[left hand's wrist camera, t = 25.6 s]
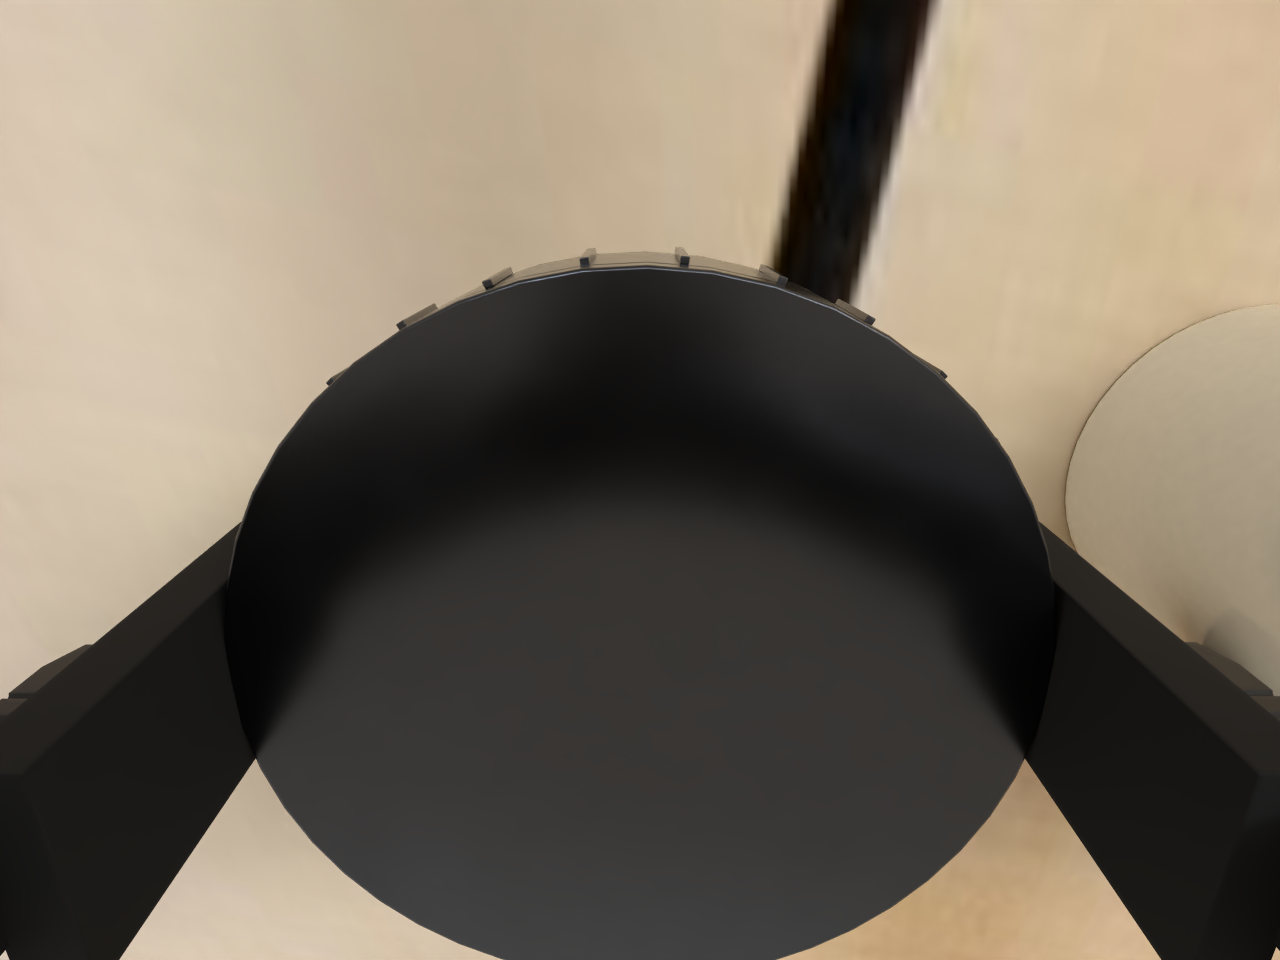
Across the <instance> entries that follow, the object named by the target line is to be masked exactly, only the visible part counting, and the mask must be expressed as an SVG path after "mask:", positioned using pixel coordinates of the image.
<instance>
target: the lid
mask: <svg viewBox="0 0 1280 960" xmlns="http://www.w3.org/2000/svg"><path fill="white" fill-rule="evenodd" d="M787 280H788V278H787V277H785V276H783V275H782V274H780V273H778V272H777V271H775V270H773V269H771V268H770V267H768V266H765V265H762V264H761V265H760V268H759V270H757V269H754V268H751V267H746V266H742V265H737V264H733V263H729V262H724V261H720V260H715V259H711V258H706V257H702V256H693V255H688V254H687V252H686V251H685V250H684V248H680V247H676V248H675V254H669V253H657V252H629V253H610V254H596V249H595V248H591V249H587V251H586V252H585V253H584V254H583V255H582V256H581V257H577V258H571V259H566V260H561V261H556V262H550V263H545V264H540V265H537V266H534V267H531V268H528V269H525V270H522V271H519V272H516V273H513V272H512V269H511V267H509V268H506V269H504V270H502V271H500V272H498V273H497V274H495V275H493V276H491V277H490V278H488V279H486V280H484V281H483V282H482V283H483V285H482V286H480V287H478V288H476V289H474V290H472V291H470V292H468V293H466V294H464V295H462V296H460V297H458V298H456V299H454V300H452V301H450V302H448V303H446V304H444V305H443V306H441V307H439V308H437V306H436V305H435V304H432V305H430V306H428V307H427V308H425V309H423V310H421V311H419V312H417V313H415V314H414V315H412V316H410V317H408V318H406V319H404V320H403V321H401V322H399V323H398V324H396V326H397V327H398V328H399V330H400V331H398V332H397V333H395V334H394V335H392V336H391V337H390V338H388V339H387V340H385V341H384V342H382V343H381V344H380V345H378V346H377V347H375V348H374V349H372V350H371V351H370V352H368V353H367V354H365V355H364V356H362V357H361V358H360V359H358V360H357V361H355V362H354V363H353V364H352V365H351V366H350V367H348V368H347V369H345V370H343V371H342V372H340V373H338V374H337V375H335V376H333V377H332V378H330V379H329V380H328V382H327V383H326V384H327V385H328V387H327V388H326V389H325V390H324V391H323V392H322V393H321V394H320V395H319V396H318V397H317V398H316V399H315V400H314V401H313V402H312V403H311V404H310V405H309V406H308V408H307V409H306V410H305V412H304V413H303V414H302V416H301V417H300V418H299V419H298V421H297V422H296V423H295V425H294V426H293V427H292V428H291V430H290V431H289V432H288V434H287V435H286V436H285V437H284V439H283V440H282V441H281V443H280V444H279V445H278V447H277V448H276V450H275V452H274V454H273V456H272V458H271V459H270V461H269V463H268V465H267V467H266V468H265V470H264V472H263V474H262V476H261V477H260V479H259V481H258V483H257V485H256V487H255V488H254V490H253V492H252V495H251V497H250V500H249V503H248V506H247V509H246V511H245V514H244V517H243V520H242V522H241V525H240V528H239V531H238V533H237V536H236V539H235V543H234V549H233V554H232V559H231V565H230V570H229V575H228V580H227V586H226V600H225V634H224V638H225V646H226V654H227V661H228V666H229V672H230V677H231V682H232V686H233V691H234V695H235V699H236V703H237V708H238V712H239V716H240V720H241V724H242V728H243V730H244V732H245V734H246V737H247V739H248V741H249V744H250V746H251V748H252V750H253V753H254V755H255V757H256V759H257V762H258V764H259V766H260V768H261V770H262V772H263V774H264V775H265V777H266V778H267V780H268V782H269V783H270V785H271V787H272V788H273V790H274V792H275V793H276V795H277V796H278V798H279V800H280V801H281V803H282V805H283V806H284V808H285V809H286V810H287V811H288V813H289V814H290V815H291V816H292V818H293V819H294V820H295V821H296V823H297V824H298V825H299V826H300V828H301V829H302V830H303V831H304V833H305V834H306V835H307V836H308V838H309V839H310V840H311V841H312V842H313V843H314V844H315V845H316V846H317V847H318V848H319V849H320V850H321V851H322V852H323V853H324V854H325V855H326V856H327V857H328V858H329V859H330V860H331V861H332V862H333V863H334V864H335V865H336V866H337V867H338V868H339V869H340V870H341V871H342V872H343V873H344V874H346V875H347V876H348V877H349V878H351V879H352V880H353V881H355V882H356V883H357V884H359V885H360V886H361V887H362V888H364V889H365V890H366V891H368V892H369V893H370V894H372V895H373V896H374V897H375V898H377V899H378V900H379V901H381V902H382V903H384V904H386V905H387V906H389V907H391V908H392V909H394V910H395V911H397V912H399V913H400V914H402V915H404V916H405V917H407V918H409V919H410V920H412V921H413V922H415V923H417V924H418V925H420V926H423V927H425V928H427V929H429V930H431V931H433V932H435V933H437V934H439V935H441V936H444V937H446V938H448V939H450V940H452V941H454V942H456V943H458V944H461V945H464V946H466V947H469V948H472V949H475V950H478V951H480V952H483V953H486V954H489V955H492V956H494V957H497V958H500V959H503V960H777V959H780V958H783V957H786V956H789V955H792V954H795V953H798V952H801V951H804V950H807V949H810V948H813V947H815V946H817V945H820V944H822V943H824V942H826V941H829V940H831V939H833V938H835V937H838V936H840V935H842V934H844V933H847V932H849V931H851V930H853V929H855V928H857V927H858V926H860V925H862V924H864V923H865V922H867V921H869V920H870V919H872V918H874V917H876V916H877V915H879V914H881V913H883V912H884V911H886V910H888V909H890V908H891V907H893V906H894V905H896V904H897V903H898V902H900V901H901V900H902V899H904V898H905V897H906V896H908V895H909V894H911V893H912V892H913V891H915V890H916V889H917V888H919V887H920V886H922V885H923V884H924V883H926V882H927V881H928V880H929V879H930V878H932V877H933V876H934V875H935V874H936V873H937V872H938V871H939V870H940V869H941V868H942V867H944V866H945V865H946V864H947V863H948V862H949V861H950V860H951V859H952V858H953V857H954V856H955V855H957V854H958V853H959V852H960V851H961V850H962V849H963V847H964V846H965V845H966V844H967V843H968V842H969V840H970V839H971V838H972V837H973V836H974V835H975V833H976V832H977V831H978V830H979V829H980V828H981V826H982V825H983V824H984V823H985V822H986V821H987V819H988V818H989V817H990V816H991V814H992V813H993V811H994V810H995V808H996V807H997V805H998V804H999V802H1000V801H1001V799H1002V797H1003V796H1004V794H1005V793H1006V791H1007V790H1008V788H1009V787H1010V785H1011V784H1012V782H1013V781H1014V779H1015V777H1016V775H1017V773H1018V771H1019V769H1020V767H1021V765H1022V763H1023V761H1024V759H1025V756H1026V754H1027V752H1028V750H1029V748H1030V746H1031V744H1032V742H1033V740H1034V738H1035V734H1036V731H1037V728H1038V725H1039V722H1040V719H1041V715H1042V712H1043V708H1044V704H1045V700H1046V696H1047V691H1048V686H1049V681H1050V676H1051V671H1052V666H1053V661H1054V655H1055V648H1056V599H1055V593H1054V586H1053V580H1052V573H1051V566H1050V560H1049V553H1048V549H1047V546H1046V543H1045V540H1044V537H1043V534H1042V530H1041V527H1040V524H1039V521H1038V518H1037V515H1036V512H1035V509H1034V506H1033V503H1032V501H1031V499H1030V497H1029V495H1028V493H1027V491H1026V489H1025V487H1024V485H1023V483H1022V481H1021V479H1020V477H1019V475H1018V473H1017V471H1016V469H1015V467H1014V465H1013V463H1012V461H1011V459H1010V457H1009V456H1008V454H1007V453H1006V451H1005V450H1004V449H1003V447H1002V446H1001V445H1000V442H999V441H998V439H997V438H996V437H995V436H994V435H993V433H992V432H991V431H990V429H989V428H988V427H987V425H986V424H985V422H984V421H983V420H982V418H981V417H980V415H979V414H978V413H977V411H976V410H975V409H974V408H973V407H972V406H971V405H970V404H969V403H968V402H967V401H966V400H965V399H964V398H963V397H962V396H961V395H960V394H959V393H958V392H957V391H956V390H955V389H954V388H953V387H952V386H951V385H950V384H949V383H948V382H947V381H946V380H945V379H946V378H947V375H946V374H945V373H944V372H943V371H942V370H940V369H938V368H937V367H935V366H933V365H931V364H930V363H928V362H926V361H925V360H923V359H921V358H920V357H918V356H916V355H915V354H913V353H912V352H910V351H909V350H908V349H906V348H905V347H904V346H902V345H901V344H900V343H898V342H897V341H896V340H894V339H893V338H892V337H890V336H889V335H887V334H886V333H884V332H882V331H880V330H879V329H877V328H875V327H873V326H872V324H873V323H874V321H875V318H873V317H871V316H870V315H868V314H866V313H864V312H862V311H860V310H859V309H857V308H855V307H853V306H851V305H849V304H847V303H846V302H844V301H842V300H840V299H838V300H837V302H836V303H835V304H833V303H831V302H829V301H827V300H826V299H824V298H822V297H820V296H818V295H816V294H815V293H813V292H811V291H809V290H807V289H805V288H804V287H802V286H799V285H797V284H794V283H791V282H789V281H787Z"/></svg>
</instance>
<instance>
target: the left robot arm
mask: <svg viewBox="0 0 1280 960" xmlns="http://www.w3.org/2000/svg"><path fill="white" fill-rule="evenodd" d="M1039 524H1040V527H1041V530H1042V534H1043V537H1044V540H1045V543H1046V546H1047V549H1048V553H1049V560H1050V566H1051V573H1052V580H1053V586H1054V593H1055V599H1056V648H1055V655H1054V661H1053V666H1052V671H1051V676H1050V681H1049V686H1048V691H1047V696H1046V700H1045V704H1044V708H1043V712H1042V715H1041V719H1040V722H1039V725H1038V728H1037V731H1036V734H1035V738H1034V740H1033V742H1032V744H1031V746H1030V748H1029V750H1028V752H1027V754H1026V756H1025V759H1026V761H1027V762H1028V764H1029V765H1030V767H1031V768H1032V769H1033V771H1034V772H1035V774H1036V775H1037V777H1038V778H1039V780H1040V781H1041V783H1042V784H1043V786H1044V787H1045V789H1046V790H1047V792H1048V793H1049V795H1050V796H1051V798H1052V799H1053V800H1054V802H1055V803H1056V805H1057V806H1058V808H1059V809H1060V811H1061V812H1062V814H1063V815H1064V817H1065V818H1066V820H1067V821H1068V823H1069V824H1070V826H1071V827H1072V828H1073V830H1074V831H1075V833H1076V834H1077V836H1078V837H1079V839H1080V840H1081V842H1082V843H1083V845H1084V846H1085V848H1086V849H1087V851H1088V852H1089V854H1090V855H1091V857H1092V858H1093V859H1094V861H1095V862H1096V864H1097V865H1098V867H1099V868H1100V870H1101V871H1102V873H1103V874H1104V876H1105V877H1106V879H1107V880H1108V882H1109V883H1110V885H1111V886H1112V887H1113V889H1114V890H1115V892H1116V893H1117V895H1118V896H1119V898H1120V899H1121V901H1122V902H1123V904H1124V905H1125V907H1126V908H1127V910H1128V911H1129V913H1130V914H1131V916H1132V917H1133V918H1134V920H1135V921H1136V923H1137V924H1138V926H1139V927H1140V929H1141V930H1142V932H1143V933H1144V935H1145V936H1146V938H1147V939H1148V941H1149V942H1150V944H1151V945H1152V947H1153V948H1154V949H1155V951H1156V952H1157V954H1158V955H1159V957H1160V958H1161V960H1271V959H1272V956H1273V954H1274V951H1275V949H1276V947H1277V948H1278V949H1279V951H1280V696H1274V695H1273V690H1271V689H1270V688H1269V687H1268V686H1266V685H1265V684H1264V683H1263V682H1261V681H1260V680H1259V679H1257V678H1256V677H1255V676H1254V675H1252V674H1251V673H1250V672H1249V671H1247V670H1246V669H1245V668H1244V667H1242V666H1241V665H1240V664H1238V663H1236V662H1234V661H1232V660H1230V659H1228V658H1226V657H1224V656H1222V655H1220V654H1218V653H1216V652H1214V651H1212V650H1210V649H1208V648H1206V647H1204V646H1203V645H1201V644H1199V643H1197V642H1184V641H1183V640H1181V639H1180V638H1179V637H1178V636H1177V635H1175V634H1174V633H1173V632H1172V631H1170V630H1169V629H1168V628H1167V627H1166V626H1164V625H1163V624H1162V623H1161V622H1160V621H1158V620H1157V619H1156V618H1155V617H1154V616H1152V615H1151V614H1150V613H1149V612H1148V611H1146V610H1145V609H1144V608H1143V607H1142V606H1140V605H1139V604H1138V603H1137V602H1135V601H1134V600H1133V599H1132V598H1131V597H1129V596H1128V595H1127V594H1126V593H1125V592H1123V591H1122V590H1121V589H1120V588H1119V587H1117V586H1116V585H1115V584H1114V583H1113V582H1111V581H1110V580H1109V579H1108V578H1107V577H1105V576H1104V575H1103V574H1102V573H1100V572H1099V571H1098V570H1097V569H1096V568H1094V567H1093V566H1092V565H1091V564H1090V563H1088V562H1087V561H1086V560H1085V559H1084V558H1082V557H1081V556H1080V555H1079V554H1078V553H1076V552H1075V551H1074V550H1073V549H1072V548H1070V547H1069V546H1068V545H1067V544H1065V543H1064V542H1063V541H1062V540H1061V539H1059V538H1058V537H1057V536H1056V535H1055V534H1053V533H1052V532H1051V531H1050V530H1049V529H1047V528H1046V527H1045V526H1044V525H1043V524H1041V523H1040V522H1039ZM240 525H241V522H240V523H239V524H238V525H237V526H236V527H234V528H233V529H232V530H231V531H230V532H228V533H227V534H226V535H225V536H224V537H222V538H221V539H220V540H219V541H217V542H216V543H215V544H214V545H213V546H211V547H210V548H209V549H208V550H207V551H205V552H204V553H203V554H202V555H201V556H199V557H198V558H197V559H196V560H195V561H193V562H192V563H191V564H190V565H189V566H187V567H186V568H185V569H184V570H182V571H181V572H180V573H179V574H178V575H176V576H175V577H174V578H173V579H172V580H170V581H169V582H168V583H167V584H166V585H164V586H163V587H162V588H161V589H160V590H158V591H157V592H156V593H155V594H154V595H152V596H151V597H150V598H149V599H147V600H146V601H145V602H144V603H143V604H141V605H140V606H139V607H138V608H137V609H135V610H134V611H133V612H132V613H131V614H129V615H128V616H127V617H126V618H125V619H123V620H122V621H121V622H120V623H119V624H117V625H116V626H115V627H114V628H112V629H111V630H110V631H109V632H108V633H106V634H105V635H104V636H103V637H102V638H100V639H99V640H98V641H97V642H96V643H94V644H93V645H84V646H82V647H80V648H78V649H76V650H74V651H72V652H70V653H68V654H66V655H65V656H63V657H61V658H59V659H57V660H55V661H53V662H51V663H49V664H47V665H45V666H43V667H41V668H40V669H39V670H38V671H36V672H35V673H34V674H33V675H31V676H30V677H29V678H28V679H26V680H25V681H24V682H23V683H21V684H20V685H19V686H18V687H16V688H15V689H14V690H13V691H11V692H10V693H9V697H8V699H1V700H0V956H1V954H2V953H3V952H4V951H5V950H6V952H7V954H8V957H9V960H119V959H120V958H121V956H122V955H123V953H124V952H125V950H126V949H127V947H128V946H129V944H130V943H131V941H132V940H133V938H134V937H135V935H136V934H137V933H138V931H139V930H140V928H141V927H142V925H143V924H144V922H145V921H146V919H147V918H148V916H149V915H150V913H151V912H152V910H153V909H154V907H155V906H156V905H157V903H158V902H159V900H160V899H161V897H162V896H163V894H164V893H165V891H166V890H167V888H168V887H169V885H170V884H171V882H172V881H173V879H174V878H175V876H176V875H177V874H178V872H179V871H180V869H181V868H182V866H183V865H184V863H185V862H186V860H187V859H188V857H189V856H190V854H191V853H192V851H193V850H194V848H195V847H196V845H197V844H198V843H199V841H200V840H201V838H202V837H203V835H204V834H205V832H206V831H207V829H208V828H209V826H210V825H211V823H212V822H213V820H214V819H215V817H216V816H217V815H218V813H219V812H220V810H221V809H222V807H223V806H224V804H225V803H226V801H227V800H228V798H229V797H230V795H231V794H232V792H233V791H234V789H235V788H236V786H237V785H238V784H239V782H240V781H241V779H242V778H243V776H244V775H245V773H246V772H247V770H248V769H249V767H250V766H251V764H252V763H253V761H254V760H255V758H256V757H255V755H254V753H253V750H252V748H251V746H250V744H249V741H248V739H247V737H246V734H245V732H244V730H243V728H242V724H241V720H240V716H239V712H238V708H237V703H236V699H235V695H234V691H233V686H232V682H231V677H230V672H229V666H228V661H227V654H226V646H225V638H224V634H225V600H226V586H227V580H228V575H229V570H230V565H231V559H232V554H233V549H234V543H235V539H236V536H237V533H238V531H239V528H240Z"/></svg>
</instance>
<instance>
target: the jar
mask: <svg viewBox="0 0 1280 960" xmlns="http://www.w3.org/2000/svg"><path fill="white" fill-rule="evenodd" d="M1065 504H1066V517H1067V523H1068V527H1069V531H1070V535H1071V538H1072V541H1073V543H1074V545H1075V548H1076V550H1077V553H1078V554H1079V555H1080V556H1081V557H1082V558H1084V559H1085V560H1086V561H1087V562H1088V563H1090V564H1091V565H1092V566H1093V567H1094V568H1096V569H1097V570H1098V571H1099V572H1100V573H1102V574H1103V575H1104V576H1105V577H1107V578H1108V579H1109V580H1110V581H1111V582H1113V583H1114V584H1115V585H1116V586H1117V587H1119V588H1120V589H1121V590H1122V591H1123V592H1125V593H1126V594H1127V595H1128V596H1129V597H1131V598H1132V599H1133V600H1134V601H1135V602H1137V603H1138V604H1139V605H1140V606H1142V607H1143V608H1144V609H1145V610H1146V611H1148V612H1149V613H1150V614H1151V615H1152V616H1154V617H1155V618H1156V619H1157V620H1158V621H1160V622H1161V623H1162V624H1163V625H1164V626H1166V627H1167V628H1168V629H1169V630H1170V631H1172V632H1173V633H1174V634H1175V635H1177V636H1178V637H1179V638H1180V639H1181V640H1183V641H1184V642H1197V643H1199V644H1201V645H1203V646H1204V647H1206V648H1208V649H1210V650H1212V651H1214V652H1216V653H1218V654H1220V655H1222V656H1224V657H1226V658H1228V659H1230V660H1232V661H1234V662H1236V663H1238V664H1240V665H1241V666H1242V667H1244V668H1245V669H1246V670H1247V671H1249V672H1250V673H1251V674H1252V675H1254V676H1255V677H1256V678H1257V679H1259V680H1260V681H1261V682H1263V683H1264V684H1265V685H1266V686H1268V687H1269V688H1270V689H1271V690H1273V695H1274V696H1280V304H1268V305H1260V306H1253V307H1245V308H1241V309H1238V310H1234V311H1230V312H1226V313H1222V314H1219V315H1217V316H1214V317H1211V318H1209V319H1206V320H1203V321H1201V322H1198V323H1196V324H1194V325H1192V326H1190V327H1188V328H1186V329H1184V330H1182V331H1180V332H1178V333H1176V334H1174V335H1173V336H1171V337H1170V338H1168V339H1167V340H1165V341H1163V342H1162V343H1160V344H1159V345H1157V346H1156V347H1154V348H1153V349H1151V350H1150V351H1149V352H1148V353H1147V354H1145V355H1144V356H1143V357H1142V358H1140V359H1139V360H1138V361H1137V362H1135V363H1134V364H1133V365H1132V366H1131V367H1130V368H1129V369H1128V370H1127V371H1126V372H1125V373H1124V374H1123V375H1122V376H1121V377H1120V378H1119V379H1118V380H1117V381H1116V382H1115V383H1114V384H1113V386H1112V387H1111V388H1110V389H1109V391H1108V392H1107V393H1106V394H1105V395H1104V397H1103V398H1102V399H1101V400H1100V402H1099V403H1098V405H1097V407H1096V408H1095V410H1094V411H1093V413H1092V414H1091V416H1090V417H1089V419H1088V421H1087V423H1086V425H1085V427H1084V429H1083V431H1082V433H1081V435H1080V437H1079V439H1078V441H1077V444H1076V447H1075V450H1074V453H1073V456H1072V458H1071V462H1070V466H1069V471H1068V476H1067V481H1066V495H1065Z"/></svg>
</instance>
